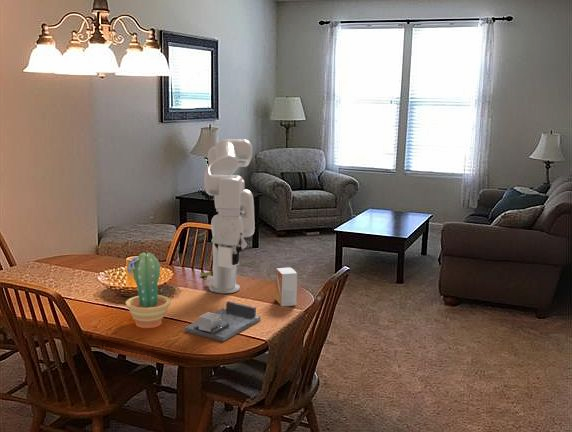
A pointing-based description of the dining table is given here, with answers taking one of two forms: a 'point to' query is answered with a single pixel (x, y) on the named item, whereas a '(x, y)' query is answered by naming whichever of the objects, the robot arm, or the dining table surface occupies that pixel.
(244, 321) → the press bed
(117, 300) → the dining table surface
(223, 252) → the block
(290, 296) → the small box
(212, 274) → the lily flower
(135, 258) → the potted cactus
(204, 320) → the block
